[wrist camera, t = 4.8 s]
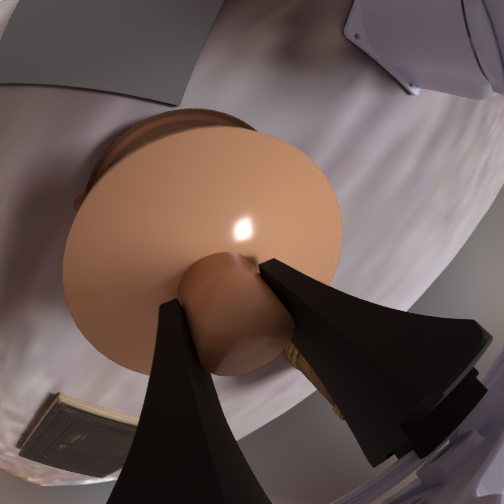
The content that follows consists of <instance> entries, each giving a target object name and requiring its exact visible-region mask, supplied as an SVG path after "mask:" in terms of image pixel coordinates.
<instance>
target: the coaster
mask: <svg viewBox="0 0 504 504" xmlns="http://www.w3.org/2000/svg"><path fill="white" fill-rule="evenodd" d="M224 1H225V0H20V1H19V3H18V5H17V7H16V9H15V11H14V13H13V15H12V17H11V19H10V21H9V23H8V26H7V28H6V30H5V33H4V35H3V37H2V40H1V43H0V84H7V83H18V84H46V85H59V86H70V87H79V88H88V89H95V90H102V91H109V92H115V93H121V94H126V95H131V96H137V97H142V98H146V99H151V100H155V101H160V102H164V103H168V104H172V105H176V106H180V103H181V100H182V97H183V95H184V92H185V89H186V86H187V84H188V81H189V79H190V76H191V73H192V71H193V68H194V66H195V63H196V61H197V59H198V56H199V54H200V51H201V49H202V47H203V45H204V42H205V40H206V38H207V36H208V33H209V31H210V29H211V27H212V25H213V23H214V21H215V19H216V17H217V15H218V13H219V11H220V9H221V7H222V5H223V3H224Z"/></svg>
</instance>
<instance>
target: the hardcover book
mask: <svg viewBox="0 0 504 504" xmlns="http://www.w3.org/2000/svg"><path fill="white" fill-rule="evenodd" d="M138 422H139V418H137V417H133V416H129V415H125V414H122V413H118V412H115V411H112V410H108V409H105V408H102V407H99V406H96V405H93V404H90V403H87V402H84V401H81V400H79V399H76V398H73V397H71V396H68V395H66V394H63V393H61V392H60V393H59V394H58V396H57V397H56V398H55V400H54V401H53V402H52V404H51V405H50V406H49V408H48V409H47V410H46V412H45V413H44V414H43V416H42V417H41V419H40V420H39V421H38V423H37V424H36V426H35V427H34V428H33V430H32V431H31V433H30V434H29V436H28V437H27V439H26V440H25V442H24V443H23V444H22V446H21V451H20V453H19V456H21V457H24V458H27V459H30V460H33V461H36V462H39V463H42V464H45V465H48V466H52V467H55V468H59V469H63V470H66V471H70V472H75V473H79V474H84V475H89V476H94V477H100V478H103V477H105V476H107V475H110V474H112V473H114V472H116V471H118V470H120V469H122V468H123V465H124V462H125V460H126V457H127V454H128V452H129V449H130V447H131V444H132V441H133V438H134V435H135V432H136V428H137V425H138Z"/></svg>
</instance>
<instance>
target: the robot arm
mask: <svg viewBox="0 0 504 504" xmlns="http://www.w3.org/2000/svg"><path fill="white" fill-rule="evenodd" d="M344 35H345V37H346V38H347V39H349V40H350V41H351V42H353V43H354V44H355V45H357V46H358V47H359V48H361V49H362V50H363V51H364V52H366V53H367V54H368V55H369V56H371V57H372V58H373V59H374V60H375V61H377V62H378V63H379V64H380V65H381V66H382V67H383V68H385V69H386V70H387V71H388V72H389V73H390V74H391V75H392V76H393V77H394V78H396V79H397V80H398V81H399V82H400V83H401V84H402V85H403V86H404V87H405V88H406V89H407V90H408V91H409V92H410V93H411V94H412V95H413V96H418V94H419V91H420V88H422V89H428V90H433V91H439V92H444V93H448V94H453V95H457V96H461V97H465V98H469V99H475V100H483V99H488V98H491V97H493V96H495V95H496V94H498V93H499V94H502V95H504V0H355V1H354V4H353V6H352V9H351V12H350V14H349V17H348V20H347V23H346V25H345V28H344ZM355 36H356V38H355ZM258 267H259V271H260V274H261V276H262V277H263V278H264V280H265V281H266V282H267V284H268V285H269V286H270V288H271V289H272V290H273V292H274V293H275V294H276V296H277V297H278V298H279V300H280V301H281V302H282V304H283V305H284V306H285V308H286V309H287V310H288V312H289V313H290V314H291V316H292V317H293V320H294V324H295V327H294V333H293V336H292V338H291V340H290V341H291V342H292V344H293V345H294V346H295V347H296V349H297V350H298V351H299V352H300V354H301V355H302V356H303V358H304V359H305V360H306V361H307V363H308V364H309V365H310V366H311V368H312V369H313V370H314V372H315V373H316V374H317V376H318V377H319V379H320V380H321V382H322V383H323V385H324V386H325V388H326V390H327V391H328V393H329V394H330V396H331V398H332V399H333V401H334V402H335V404H336V406H337V407H338V409H339V411H340V412H341V414H342V416H343V417H344V419H345V421H346V422H347V424H348V426H349V427H350V429H351V431H352V432H353V434H354V436H355V438H356V440H357V442H358V443H359V445H360V447H361V449H362V451H363V453H364V454H365V456H366V458H367V460H368V461H369V463H370V464H371V466H373V468H374V467H376V466H378V465H379V464H381V463H382V462H384V461H385V460H387V459H388V458H390V457H391V456H392V455H394V454H395V455H396V457H397V458H398V459H399V460H397V461H396V462H395V463H394V464H392V465H391V466H390V467H388V468H387V469H386V470H384V471H383V472H381V473H380V474H378V475H377V476H375V477H374V478H372V479H371V480H369V481H368V482H366V483H365V484H363V485H362V486H360V487H358V488H357V489H355V490H353V491H352V492H350V493H348V494H347V495H345V496H343V497H341V498H339V499H338V500H336V501H334V502H332V503H330V504H369V503H370V502H372V501H373V500H375V499H376V498H378V497H380V496H381V495H383V494H384V493H385V492H387V491H388V490H390V489H391V488H393V487H394V486H395V485H396V484H398V483H399V482H401V481H402V480H403V479H405V478H406V477H407V476H408V475H410V474H411V473H412V472H413V471H414V470H416V469H417V468H418V467H419V466H421V465H422V464H423V463H424V462H425V461H426V460H427V461H426V463H424V465H423V466H422V467H421V468H420V469H419V470H418V471H417V473H416V475H417V476H418V477H417V478H416V479H415V480H413V481H412V482H411V483H409V484H408V485H406V486H405V487H404V488H402V489H401V490H400V491H398V492H396V493H395V494H393V495H392V496H390V497H389V498H387V499H386V500H384V501H382V502H381V503H379V504H504V346H503V348H502V349H501V350H500V352H499V353H498V354H497V356H496V357H495V359H494V360H493V362H492V363H491V365H490V368H489V369H488V370H487V372H486V373H485V374H484V375H483V377H482V378H481V379H480V380H478V379H477V378H476V376H477V375H478V374H479V372H478V371H477V370H476V369H475V368H474V365H475V364H476V363H477V361H478V360H479V359H480V357H481V356H482V355H483V354H484V352H485V351H486V349H487V348H488V347H489V345H490V344H491V342H492V340H493V337H492V336H491V335H490V334H489V333H488V332H487V331H486V330H485V329H484V328H483V327H482V326H480V325H479V324H478V323H477V322H476V321H475V320H470V319H451V318H440V317H433V316H425V315H419V314H414V313H409V312H405V311H400V310H396V309H392V308H388V307H384V306H381V305H378V304H374V303H371V302H368V301H365V300H362V299H359V298H357V297H354V296H351V295H349V294H346V293H344V292H342V291H339V290H337V289H335V288H332V287H330V286H328V285H326V284H324V283H322V282H320V281H318V280H315V279H313V278H311V277H309V276H307V275H305V274H304V273H302V272H300V271H298V270H296V269H294V268H292V267H290V266H289V265H287V264H285V263H283V262H281V261H279V260H277V259H275V258H272V259H270V260H267V261H265V262H263V263H260V264H258ZM448 440H449V441H450V442H449V444H448V445H446V446H445V447H443V448H442V449H440V450H439V451H438V452H436V451H437V450H438V449H439V448H441V446H442V445H444V444H445V442H447V441H448ZM435 452H436V453H435ZM434 453H435V454H434ZM433 454H434V455H433ZM432 455H433V456H432ZM431 456H432V457H431ZM106 504H272V503H271V502H270V500H269V498H268V497H267V495H266V494H265V492H264V491H263V489H262V487H261V486H260V484H259V482H258V481H257V479H256V477H255V475H254V474H253V472H252V470H251V468H250V466H249V465H248V463H247V461H246V459H245V457H244V455H243V453H242V452H241V450H240V448H239V446H238V444H237V442H236V440H235V438H234V436H233V434H232V432H231V430H230V427H229V425H228V423H227V421H226V418H225V416H224V413H223V411H222V408H221V405H220V402H219V399H218V396H217V393H216V389H215V386H214V383H213V380H212V377H211V373H210V372H208V371H207V370H205V369H204V368H203V366H202V365H201V363H200V360H199V358H198V355H197V352H196V349H195V347H194V344H193V341H192V338H191V335H190V332H189V328H188V325H187V322H186V319H185V316H184V313H183V310H182V307H181V305H180V303H179V301H178V299H177V298H175V299H173V300H170V301H168V302H165V303H163V304H161V305H160V307H159V314H158V325H157V334H156V341H155V348H154V355H153V361H152V366H151V372H150V377H149V382H148V387H147V391H146V396H145V400H144V404H143V408H142V411H141V415H140V418H139V422H138V425H137V428H136V432H135V435H134V438H133V441H132V444H131V447H130V449H129V452H128V454H127V457H126V460H125V462H124V465H123V468H122V470H121V473H120V475H119V477H118V479H117V482H116V484H115V486H114V488H113V490H112V492H111V495H110V497H109V499H108V501H107V503H106Z"/></svg>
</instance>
